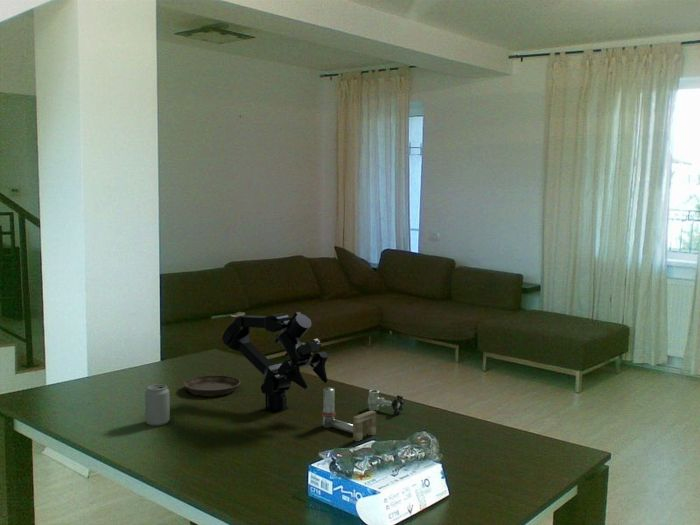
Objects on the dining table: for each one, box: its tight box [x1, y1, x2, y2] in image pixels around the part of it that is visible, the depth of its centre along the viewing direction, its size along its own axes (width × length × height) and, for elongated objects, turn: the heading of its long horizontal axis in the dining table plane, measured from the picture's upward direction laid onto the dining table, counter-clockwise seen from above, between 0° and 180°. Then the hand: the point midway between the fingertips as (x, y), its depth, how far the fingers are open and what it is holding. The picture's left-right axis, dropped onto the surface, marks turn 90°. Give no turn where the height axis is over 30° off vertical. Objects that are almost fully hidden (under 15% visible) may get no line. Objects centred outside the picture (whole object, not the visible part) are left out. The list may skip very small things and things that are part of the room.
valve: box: [367, 389, 405, 416], centre depth 229 cm, size 7×7×12 cm
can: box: [144, 383, 171, 427], centre depth 216 cm, size 8×8×12 cm
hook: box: [321, 386, 353, 434], centre depth 210 cm, size 14×4×12 cm, turn 49°
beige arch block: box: [352, 410, 377, 442], centre depth 204 cm, size 2×8×7 cm, turn 139°
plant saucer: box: [183, 374, 241, 397], centre depth 252 cm, size 21×21×3 cm
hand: (316, 385), depth 216 cm, fingers open, 9 cm apart
